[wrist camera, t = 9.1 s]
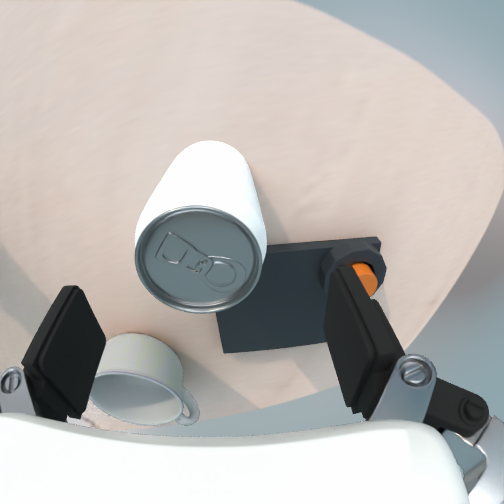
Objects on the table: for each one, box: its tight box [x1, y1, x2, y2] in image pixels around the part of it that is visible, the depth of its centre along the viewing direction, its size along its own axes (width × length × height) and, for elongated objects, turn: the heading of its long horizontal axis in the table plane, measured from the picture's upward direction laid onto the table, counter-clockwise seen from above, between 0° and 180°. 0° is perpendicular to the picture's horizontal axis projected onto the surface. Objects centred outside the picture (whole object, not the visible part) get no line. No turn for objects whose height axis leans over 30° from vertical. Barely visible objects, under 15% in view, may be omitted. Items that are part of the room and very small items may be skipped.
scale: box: [216, 237, 387, 353], centre depth 29 cm, size 16×14×3 cm
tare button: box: [349, 262, 378, 297], centre depth 25 cm, size 3×3×2 cm
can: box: [135, 141, 267, 314], centre depth 18 cm, size 6×6×12 cm
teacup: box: [89, 333, 200, 426], centre depth 30 cm, size 14×11×8 cm
